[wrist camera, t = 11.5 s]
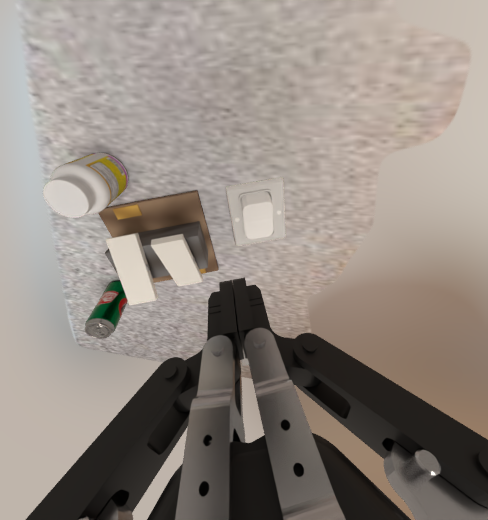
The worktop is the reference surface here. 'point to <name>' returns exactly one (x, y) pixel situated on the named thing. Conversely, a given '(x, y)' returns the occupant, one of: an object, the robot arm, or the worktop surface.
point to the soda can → (107, 311)
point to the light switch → (257, 211)
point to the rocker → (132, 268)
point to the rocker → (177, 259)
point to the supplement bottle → (85, 185)
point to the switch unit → (163, 228)
